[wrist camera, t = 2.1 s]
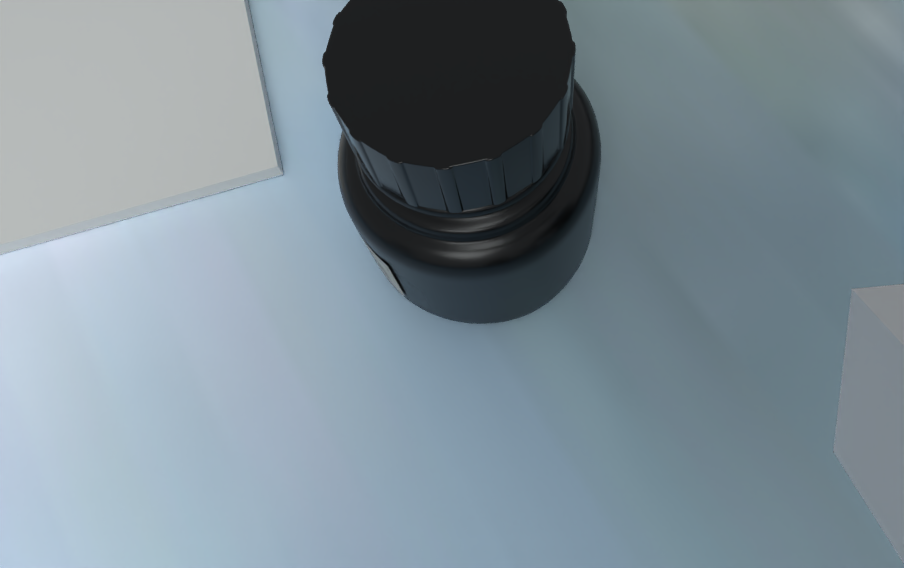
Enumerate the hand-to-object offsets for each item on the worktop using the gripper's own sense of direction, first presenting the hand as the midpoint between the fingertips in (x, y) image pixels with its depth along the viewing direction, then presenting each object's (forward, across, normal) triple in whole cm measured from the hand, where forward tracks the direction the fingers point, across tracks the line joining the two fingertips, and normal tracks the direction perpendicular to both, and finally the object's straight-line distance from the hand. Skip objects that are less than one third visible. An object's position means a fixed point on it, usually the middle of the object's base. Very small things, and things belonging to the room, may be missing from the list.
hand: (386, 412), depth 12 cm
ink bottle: (+21, +1, -6) cm, 22 cm away
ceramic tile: (+27, -14, 0) cm, 31 cm away
